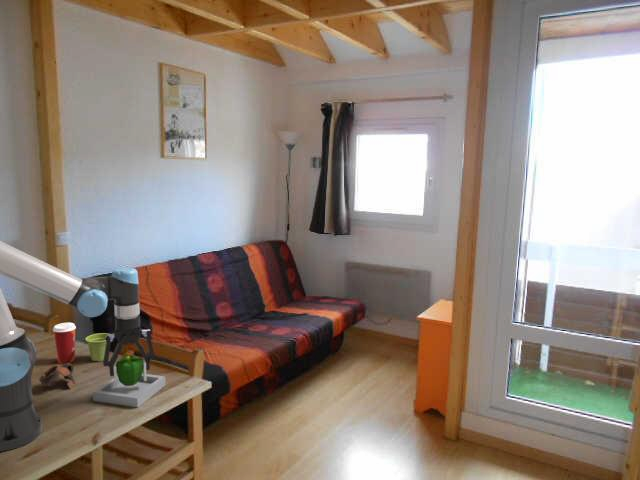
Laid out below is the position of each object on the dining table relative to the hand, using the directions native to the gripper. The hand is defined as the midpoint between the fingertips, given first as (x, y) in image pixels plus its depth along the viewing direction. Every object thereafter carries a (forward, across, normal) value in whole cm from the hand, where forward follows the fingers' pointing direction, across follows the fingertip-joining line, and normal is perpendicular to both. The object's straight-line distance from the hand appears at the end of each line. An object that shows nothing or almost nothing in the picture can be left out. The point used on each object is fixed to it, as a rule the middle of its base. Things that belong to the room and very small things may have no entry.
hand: (130, 381), depth 156 cm
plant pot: (+4, +8, -34) cm, 35 cm away
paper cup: (+4, +20, -37) cm, 42 cm away
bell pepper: (+1, 0, 0) cm, 1 cm away
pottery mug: (+4, +21, -15) cm, 26 cm away
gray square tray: (+4, 0, 0) cm, 4 cm away
